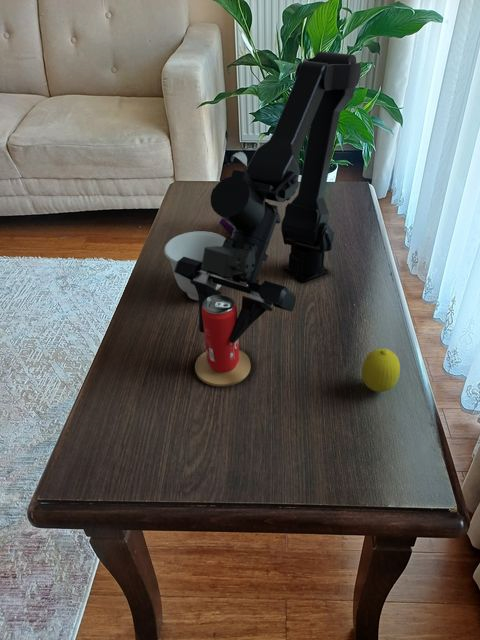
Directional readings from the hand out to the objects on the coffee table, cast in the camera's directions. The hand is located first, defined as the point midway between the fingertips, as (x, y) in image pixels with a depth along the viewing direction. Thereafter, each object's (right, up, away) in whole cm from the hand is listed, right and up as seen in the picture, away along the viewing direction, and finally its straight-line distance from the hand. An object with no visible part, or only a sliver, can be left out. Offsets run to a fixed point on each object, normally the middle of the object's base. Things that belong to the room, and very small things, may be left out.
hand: (216, 337), depth 79 cm
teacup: (-3, +9, +22) cm, 24 cm away
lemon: (+25, -8, +2) cm, 26 cm away
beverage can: (+1, -4, +5) cm, 7 cm away
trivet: (+1, -5, +5) cm, 7 cm away
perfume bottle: (+3, +25, +40) cm, 47 cm away
